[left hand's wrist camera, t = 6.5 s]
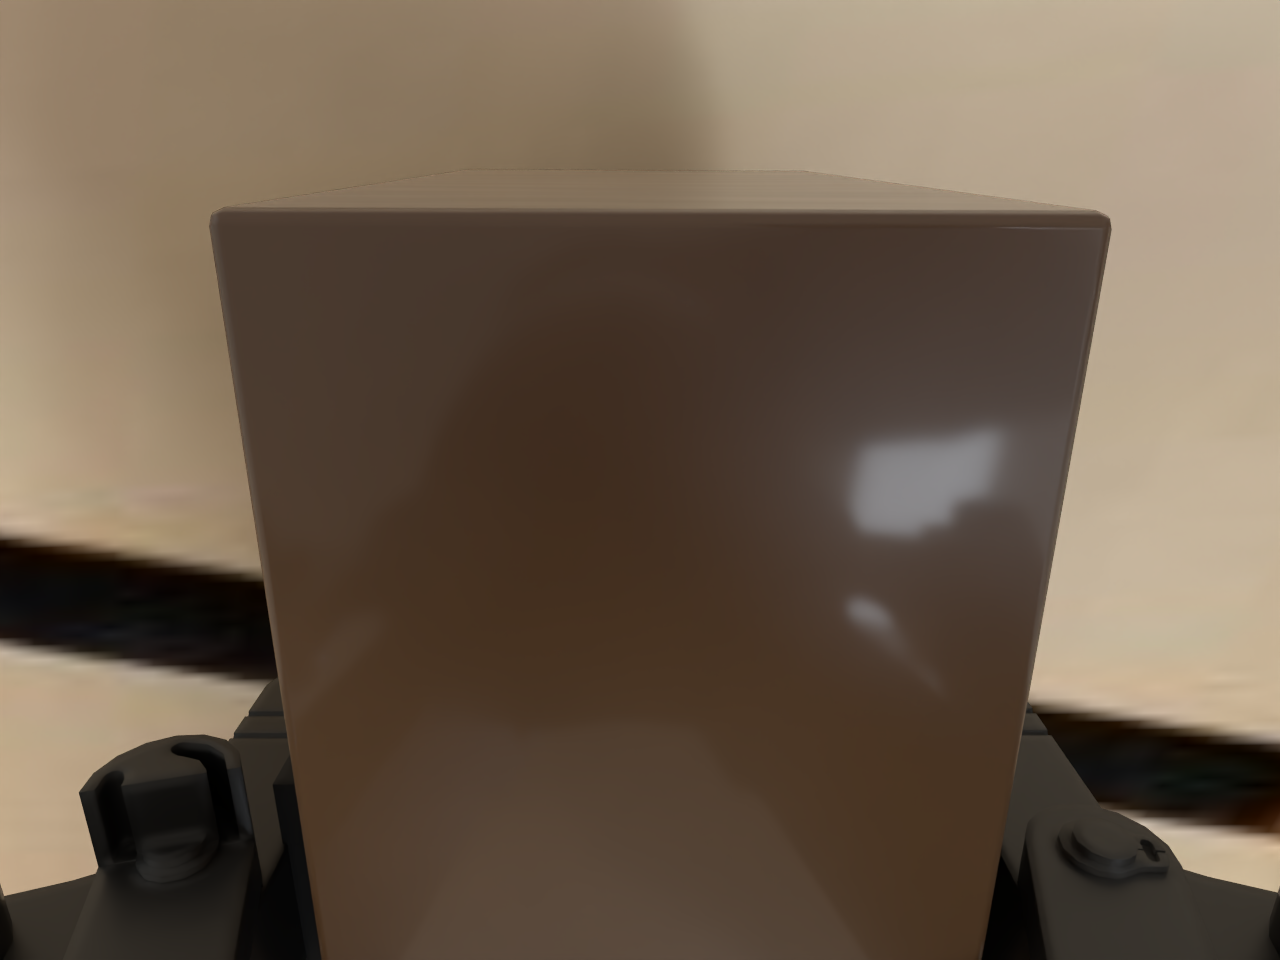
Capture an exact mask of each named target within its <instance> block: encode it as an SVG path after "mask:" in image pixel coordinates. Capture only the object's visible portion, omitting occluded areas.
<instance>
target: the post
mask: <svg viewBox="0 0 1280 960" xmlns="http://www.w3.org/2000/svg"><path fill="white" fill-rule="evenodd" d="M210 233H211V240H212V246H213V253H214V259H215V266H216V272H217V279H218V285H219V292H220V299H221V305H222V312H223V318H224V325H225V331H226V338H227V344H228V351H229V357H230V364H231V371H232V377H233V384H234V390H235V397H236V403H237V410H238V416H239V423H240V429H241V436H242V442H243V449H244V456H245V462H246V469H247V475H248V482H249V488H250V495H251V501H252V508H253V514H254V521H255V528H256V534H257V541H258V547H259V554H260V560H261V567H262V573H263V580H264V586H265V593H266V600H267V606H268V613H269V619H270V626H271V632H272V639H273V645H274V652H275V658H276V665H277V671H278V678H279V685H280V691H281V698H282V704H283V711H284V717H285V724H286V730H287V737H288V743H289V750H290V757H291V763H292V770H293V776H294V783H295V789H296V796H297V802H298V809H299V815H300V822H301V829H302V835H303V842H304V848H305V855H306V861H307V868H308V874H309V881H310V887H311V894H312V901H313V907H314V914H315V920H316V927H317V933H318V940H319V946H320V953H321V959H322V960H982V954H983V949H984V943H985V937H986V932H987V926H988V921H989V915H990V909H991V904H992V898H993V893H994V887H995V881H996V876H997V870H998V864H999V859H1000V853H1001V848H1002V842H1003V836H1004V831H1005V825H1006V819H1007V814H1008V808H1009V803H1010V797H1011V791H1012V786H1013V780H1014V775H1015V769H1016V763H1017V758H1018V752H1019V746H1020V741H1021V735H1022V730H1023V724H1024V718H1025V713H1026V707H1027V701H1028V696H1029V690H1030V685H1031V679H1032V673H1033V668H1034V662H1035V657H1036V651H1037V645H1038V640H1039V634H1040V628H1041V623H1042V617H1043V612H1044V606H1045V600H1046V595H1047V589H1048V583H1049V578H1050V572H1051V567H1052V561H1053V555H1054V550H1055V544H1056V539H1057V533H1058V527H1059V522H1060V516H1061V510H1062V505H1063V499H1064V494H1065V488H1066V482H1067V477H1068V471H1069V465H1070V460H1071V454H1072V449H1073V443H1074V437H1075V432H1076V426H1077V421H1078V415H1079V409H1080V404H1081V398H1082V392H1083V387H1084V381H1085V376H1086V370H1087V364H1088V359H1089V353H1090V347H1091V342H1092V336H1093V331H1094V325H1095V319H1096V314H1097V308H1098V303H1099V297H1100V291H1101V286H1102V280H1103V274H1104V269H1105V263H1106V258H1107V252H1108V246H1109V241H1110V235H1111V223H1110V218H1109V217H1108V216H1107V215H1105V214H1102V213H1100V212H1098V211H1096V210H1089V209H1081V208H1074V207H1066V206H1059V205H1051V204H1044V203H1037V202H1029V201H1022V200H1014V199H1007V198H1000V197H992V196H985V195H977V194H970V193H963V192H955V191H948V190H940V189H933V188H925V187H918V186H911V185H903V184H896V183H888V182H881V181H874V180H866V179H859V178H851V177H844V176H837V175H829V174H822V173H814V172H807V171H704V170H499V169H467V170H461V171H454V172H448V173H442V174H435V175H429V176H422V177H416V178H409V179H403V180H396V181H390V182H384V183H377V184H371V185H364V186H358V187H351V188H345V189H338V190H332V191H326V192H319V193H313V194H306V195H300V196H293V197H287V198H280V199H274V200H268V201H261V202H255V203H248V204H242V205H235V206H229V207H224V208H222V209H219V210H217V211H215V212H213V213H212V215H211V220H210Z"/></svg>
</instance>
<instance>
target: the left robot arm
mask: <svg viewBox="0 0 1280 960" xmlns="http://www.w3.org/2000/svg"><path fill="white" fill-rule="evenodd" d="M79 795H80V798H81V802H82V806H83V810H84V814H85V817H86V821H87V825H88V829H89V833H90V836H91V840H92V844H93V848H94V852H95V855H96V859H97V863H98V870H97V872H96V874H93V875H90V876H86V877H83V878H80V879H76V880H73V881H69V882H64V883H60V884H56V885H51V886H47V887H42V888H38V889H34V890H29V891H25V892H21V893H16V894H12V895H7V896H4V894H3V891H2V888H1V885H0V960H322V959H321V953H320V946H319V940H318V933H317V927H316V920H315V914H314V907H313V901H312V894H311V887H310V881H309V874H308V868H307V861H306V855H305V848H304V842H303V835H302V829H301V822H300V815H299V809H298V802H297V796H296V789H295V783H294V776H293V770H292V763H291V757H290V750H289V743H288V737H287V730H286V724H285V717H284V711H283V704H282V698H281V691H280V685H279V678H276V679H275V680H273V681H272V682H271V683H269V684H268V685H267V686H266V687H265V688H264V690H263V691H262V693H261V694H260V696H259V697H258V699H257V700H256V702H255V703H254V704H253V706H252V707H251V709H250V710H249V716H245V718H244V719H243V720H242V722H241V723H240V725H239V726H238V728H237V729H236V731H235V732H234V738H233V739H229V741H227V740H224V739H220V738H216V737H212V736H208V735H181V736H173V737H169V738H165V739H161V740H157V741H153V742H149V743H145V744H143V745H141V746H139V747H137V748H134V749H132V750H130V751H128V752H125V753H123V754H121V755H119V756H117V757H115V758H114V759H113V760H111V761H110V762H108V763H107V764H106V765H104V766H103V767H102V768H100V769H99V770H97V771H96V772H95V773H93V775H92V776H91V777H90V779H89V780H88V781H87V783H86V784H85V785H84V786H83V788H82V789H81V790H80V792H79ZM982 960H1280V888H1279V891H1278V893H1277V892H1272V891H1268V890H1263V889H1259V888H1255V887H1250V886H1246V885H1241V884H1237V883H1233V882H1228V881H1224V880H1220V879H1215V878H1211V877H1207V876H1204V875H1200V874H1197V873H1193V872H1190V871H1187V870H1183V868H1182V866H1181V864H1180V863H1179V861H1178V860H1177V858H1176V857H1175V855H1174V854H1173V852H1172V851H1171V849H1170V848H1169V846H1168V845H1167V844H1166V843H1164V842H1163V841H1162V840H1161V839H1160V838H1158V837H1157V836H1156V835H1155V834H1154V833H1152V832H1151V831H1150V830H1149V829H1147V828H1146V827H1145V826H1143V825H1141V824H1139V823H1137V822H1135V821H1133V820H1131V819H1129V818H1127V817H1125V816H1123V815H1121V814H1119V813H1116V812H1113V811H1109V810H1105V809H1102V808H1101V807H1100V806H1099V804H1098V803H1097V801H1096V800H1095V798H1094V797H1093V795H1092V794H1091V793H1090V791H1089V790H1088V788H1087V787H1086V785H1085V784H1084V782H1083V781H1082V780H1081V778H1080V777H1079V775H1078V774H1077V772H1076V771H1075V769H1074V768H1073V766H1072V765H1071V764H1070V762H1069V761H1068V759H1067V758H1066V756H1065V755H1064V753H1063V752H1062V751H1061V749H1060V748H1059V746H1058V745H1057V743H1056V742H1055V740H1054V739H1053V738H1052V736H1048V734H1047V729H1046V727H1045V726H1044V725H1043V723H1042V722H1041V720H1040V719H1039V717H1038V716H1037V714H1033V712H1032V707H1031V706H1030V704H1029V703H1028V701H1027V707H1026V713H1025V718H1024V724H1023V730H1022V735H1021V741H1020V746H1019V752H1018V758H1017V763H1016V769H1015V775H1014V780H1013V786H1012V791H1011V797H1010V803H1009V808H1008V814H1007V819H1006V825H1005V831H1004V836H1003V842H1002V848H1001V853H1000V859H999V864H998V870H997V876H996V881H995V887H994V893H993V898H992V904H991V909H990V915H989V921H988V926H987V932H986V937H985V943H984V949H983V954H982Z"/></svg>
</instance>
